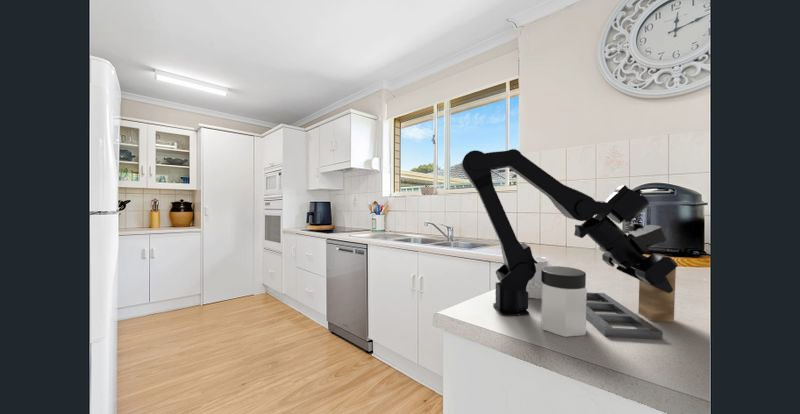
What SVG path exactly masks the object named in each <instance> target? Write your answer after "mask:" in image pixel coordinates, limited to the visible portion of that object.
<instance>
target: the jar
mask: <svg viewBox="0 0 800 414" xmlns="http://www.w3.org/2000/svg"><path fill="white" fill-rule="evenodd" d="M586 276H587V273H586V272H585V271H583V270H582V269H579V268H576V267H575V268H574V267H569V266H568V267H567V266H560V265H558V266H557V265H556V266H555V265H554V266H553V265H551V266H550V265H548V267H544V268H542V269H541V298H540V325H541V329H542V330H543V331H546V332H549V333H552V334H555V335H558V336H560V337H563V338H566V337H567V338H569V337H579V336H586V333H587V330H586V329H587V319H586V301H587V299H586V296H587V291H588V289H587V287H586V286H587V277H586Z"/></svg>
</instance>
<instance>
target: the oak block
mask: <svg viewBox="0 0 800 414" xmlns="http://www.w3.org/2000/svg"><path fill="white" fill-rule="evenodd" d="M676 271H677V267H676V268H675V269H674V270H672V271H671V272H670V273H669V274H668V275H666V277H667V279H668V281H669V283H670V285H671V287H672V289H673V291H672V292H671V293H667V292H665V291H663V290H660V289H658V288H656V287H654V286H651V285H649V284H647V283H645V282H643V281H640V280H638V281H639V282H638V283H639V284H638V285H639V286H638V311H637V313H638V315H639V314H640V315H641V316H642V317H644V318H645V319H647V320H648V321H651V322H668V323H675V306H676V305H675V302H676V301H675V298H676V274H677V273H676Z"/></svg>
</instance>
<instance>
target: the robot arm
mask: <svg viewBox="0 0 800 414" xmlns="http://www.w3.org/2000/svg"><path fill="white" fill-rule="evenodd" d="M505 168H508V169H510V170H511V171H512V172H513V173H515V174H517V176H518V177H520V178H522V179H523V180H524V181H526V182H527V183H529V184H530V185H531V186H532V187H534V188H535V189H537V190H539V191H540V192H541V193H542V194H544V195H545V196H546V197H548V199H549V200H550V201H551V203H552V204H553V205H554V207H555V208H556V209H557V210H559V212H560V213H561V214H562V215H563V216H564V217H565V218H567V219H571V220H575V221H579V222H582V223H581V224H575V225H574V234H573V235H574V236H575V237H578V238H580V239H583V238H584V237H586V235H587V236H588V237H589V238H590V239H591V240H592V241H593V242H594V243H595V244H597V246H599V247H598V249H599V250H600V251H601V252H603V254H602V255H601V256H602V259H601V260H602V261H603V262H604V263H606V265H608V266H609V267H613V268H614V267H615V265H617V266H616V268H615V269H616V270H617V271H619V272H622V273H624V274H626V275H628V276H630V277H631V278H635V279H637V280H638V281H639V280H640V281H643V282H645V283H647V284H649V285H651V286H654V287H656V288H658V289H660V290H663V291H665V292H667V293H671V292H672V291H673V289H672V287H671V285H670V283H669V281H668V279H667V277H666V275H668V274H669V273H670V272H671V271H672V270H674V269H675V268H676V269H677V267H678V262H677V261H675V260H674V259H673V258H672V257H670V256H669V255H668V256H667V255H665V254H661V253H651V254H650V255H649V256H645V255H646V254H648V252H650V250H651V249H650V248H649V247H653V246H654V245H657V244H660V243H665V242H667V241H668V238H667V235H666V234H665V231H664V230H663V228H662V226H661V225H655V224H644V225H642V224H641V223H638V222H634V223H631V224H630V225H629V226H628V232H626V231H624V230H623V229H622V228H620V226H618V225H617V224H619V225H620V224H621V223H624V224H629V223H630V222H632V220H634V219H635V218H636V217H637V216H638V215H640V214H641V213H642V212H643V211H644V210H645V209H646V208H647V207H649V206H650V202H649V200H648V199H647V198H646V197H645V196H644V195H643V194H640V193H639V192H637V191H636V190H633V189H631V188H629V187H628V186H627V185H619V186H618V187H617V188H615V190H614V191H613V192H612V193H611V194H610V195H609V196H608V197H606V199H605V200H604V201H603V200H595V199H594V198H593V197H592V196H590V195H588V194H585V192H582V191H580V190H578V189H575V188H572V187H570V186H568V185H566V184H563V183H561V182H560V181H559V180H558V179H556V178H555V177H554V176H552V175H551V174H549V173H548V172H547V171H545V170H544V169H543V168H541V167H540V166H538V165H537V164H536V163H534V162H533V161H531V160H530V159H529V158H528V157H526V156H524V154H522V153H521V151H519V150H518V149H516V148H512V149H509V150H501V151H489V152H483V151H480V150H470V151H469V152H468V153H466V154H465V155H464V156H463V159H462V161H461V169H462V172H463V173H464V175H465V176H466V177H467V179H468V180H469V182H470V183H471V185H472V186H473V188H474V189H475V191H477V194H478V196H479V197H480V200H481V203H482V204H483V207H484V209H485V212H486V213H487V214H486V215H487V216H488V219H489V221H490V223H491V225H492V227H493V229H494V230H493V231H494V232H495V234H496V237H497V239H498V241H499V243H500V248H501V254H502V259H503V264H502V265H501V266H500V267H499V268H497V270H496V271H495V275H496V277H497V280H498V281H499V282H495V302H494V303H492V304H493V305H492V306H493V307H494V309H495V310H496V311H498V313H499V314H500V315H502V316H521V315H523V316H525V315H530V312H529V310H528V309H529V298H528V292H527V291H526V286H527V284H528V281H529V280H531V279H532V278H533V277H534V275H535V273H536V266H535V264H537V262H536V261H535V260H534V258H533V256H534V255H533V253H532V249H531V246H529V245H528V244H527V243H525V242H520V241H519V240H518V238H517V236H516V233H515V232H514V229H513V226H512V224H511V222H510V220H509V218H508V215H507V214H506V211H505V209H504V207H503V204H502V202H501V199H500V198H499V195H498V194H497V191H496V189H495V186H494V183H493V176H492V171H494V170H498V169H499V170H500V169H505ZM616 223H617V224H616ZM534 263H535V264H534Z"/></svg>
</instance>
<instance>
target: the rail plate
mask: <svg viewBox="0 0 800 414" xmlns="http://www.w3.org/2000/svg"><path fill="white" fill-rule="evenodd" d="M587 300H598V301H587ZM594 310H602V311H614V312H615V313H602V312H601V313H600V312H599V313H598V312H596V311H594ZM586 321H588V322H589V323H590V324H591V325H592V324H593V325H594V326H595V327H594V326H593V325H592V326H593V327H594V328H596V330H597V331H598V332H600V334H602V336H604V337H608V338H627V339H643V340H659V341H660V340H663V337H664V336H663V331H662V330H660V329H659V328H658V327H656V326H654V325H653V324H651V323H650V322H648V321H647V320H645V319H644V318H642V317H641V316H640V315H639V314H637V313H635V312H634V311H632V310H630V309H629V308H627V307H626V306H624V305H623V304H621V303H620V302H618V301H617V300H616V299H614V298H613V297H611V296H609V295H608V294H606V293H605V292H587V296H586ZM609 323H616V324H617V323H618V324H631V325H633V326H634V327H635V328H625V327H613V326H612V325H611V324H609Z"/></svg>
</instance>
